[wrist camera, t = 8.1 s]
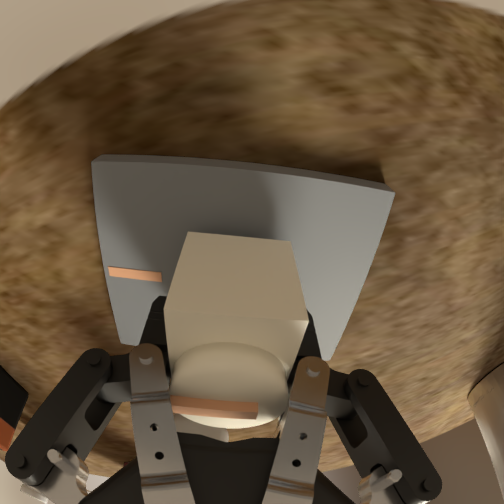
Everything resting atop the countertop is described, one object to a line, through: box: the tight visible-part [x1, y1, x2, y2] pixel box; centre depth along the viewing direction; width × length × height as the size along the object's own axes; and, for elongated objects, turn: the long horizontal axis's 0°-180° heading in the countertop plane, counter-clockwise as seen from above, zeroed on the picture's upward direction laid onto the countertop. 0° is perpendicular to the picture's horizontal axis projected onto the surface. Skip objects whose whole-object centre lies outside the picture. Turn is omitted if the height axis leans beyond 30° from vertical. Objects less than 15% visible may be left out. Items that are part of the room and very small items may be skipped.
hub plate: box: [91, 154, 395, 360], centre depth 15 cm, size 14×12×5 cm
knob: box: [164, 232, 309, 428], centre depth 12 cm, size 4×7×6 cm
